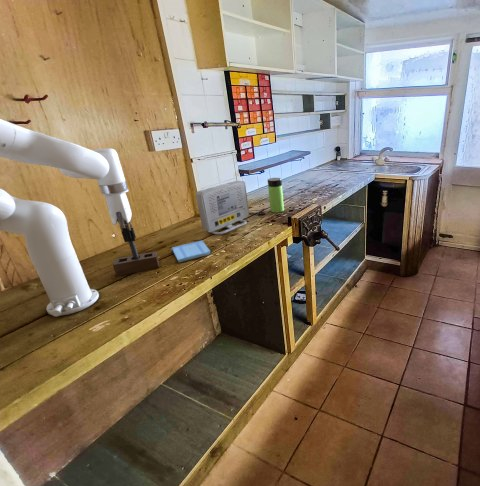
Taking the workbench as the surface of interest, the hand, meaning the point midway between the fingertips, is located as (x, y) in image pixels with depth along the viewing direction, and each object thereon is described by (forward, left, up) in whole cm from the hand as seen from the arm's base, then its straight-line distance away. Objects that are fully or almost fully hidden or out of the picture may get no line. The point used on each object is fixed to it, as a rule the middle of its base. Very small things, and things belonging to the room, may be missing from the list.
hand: (130, 239), depth 109 cm
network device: (+28, -36, -12) cm, 47 cm away
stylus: (0, 0, -9) cm, 9 cm away
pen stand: (0, 0, -11) cm, 11 cm away
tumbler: (+41, -64, -12) cm, 77 cm away
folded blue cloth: (+6, -18, -12) cm, 22 cm away
